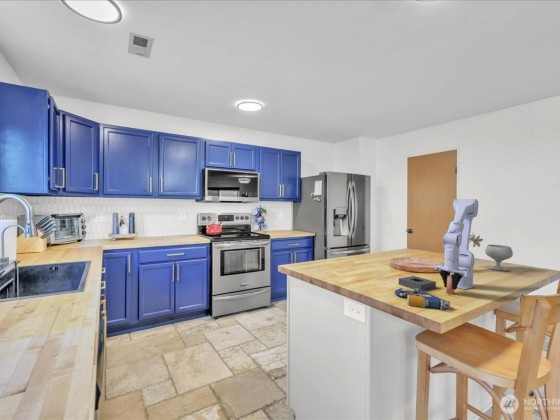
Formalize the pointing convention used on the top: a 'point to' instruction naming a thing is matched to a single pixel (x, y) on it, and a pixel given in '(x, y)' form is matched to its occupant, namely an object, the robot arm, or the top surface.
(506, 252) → the chalice
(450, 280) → the pin
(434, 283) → the collar block
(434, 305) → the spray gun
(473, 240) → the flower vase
